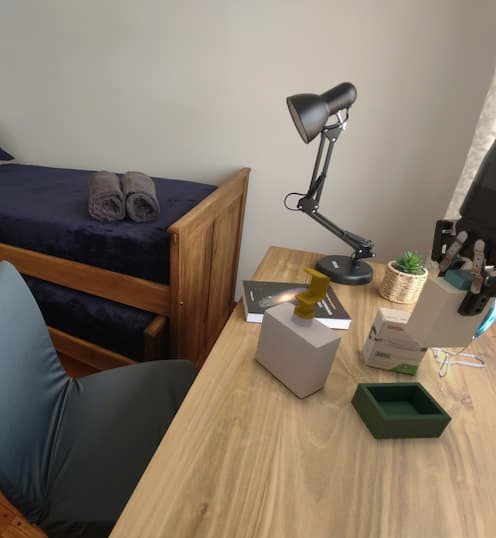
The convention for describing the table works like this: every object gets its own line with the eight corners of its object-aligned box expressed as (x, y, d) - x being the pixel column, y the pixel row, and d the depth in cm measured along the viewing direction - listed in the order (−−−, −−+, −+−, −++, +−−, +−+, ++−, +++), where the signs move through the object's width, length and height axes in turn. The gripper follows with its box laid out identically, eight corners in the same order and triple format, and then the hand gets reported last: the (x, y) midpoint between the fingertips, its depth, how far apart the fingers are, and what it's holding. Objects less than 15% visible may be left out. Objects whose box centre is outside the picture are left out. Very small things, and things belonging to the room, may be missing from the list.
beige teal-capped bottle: (403, 330, 54) (432, 267, 49) (445, 329, 54) (479, 266, 49) (421, 348, 51) (455, 283, 45) (467, 347, 51) (506, 282, 45)
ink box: (407, 359, 73) (430, 313, 68) (415, 376, 69) (440, 329, 63) (360, 350, 76) (378, 304, 70) (364, 366, 72) (384, 319, 66)
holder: (409, 400, 65) (419, 381, 62) (439, 437, 58) (452, 418, 56) (350, 401, 65) (358, 383, 62) (375, 438, 58) (385, 419, 56)
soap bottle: (253, 358, 74) (273, 259, 63) (276, 348, 77) (299, 251, 65) (300, 401, 65) (334, 294, 53) (325, 387, 67) (363, 282, 56)
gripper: (622, 203, 35) (528, 338, 44) (494, 166, 47) (440, 277, 56) (546, 204, 35) (467, 339, 43) (438, 167, 47) (392, 278, 56)
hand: (452, 303), depth 50 cm, fingers closed on beige teal-capped bottle, 4 cm apart
